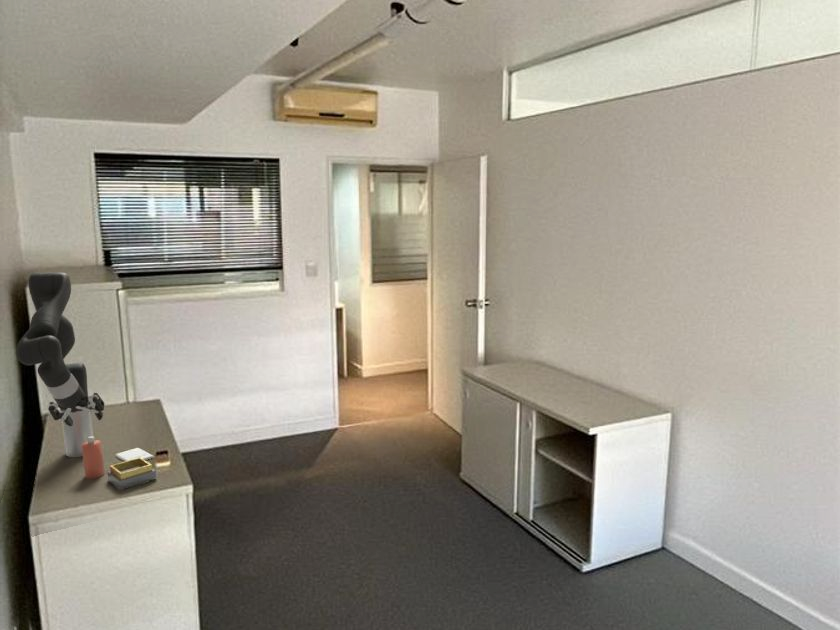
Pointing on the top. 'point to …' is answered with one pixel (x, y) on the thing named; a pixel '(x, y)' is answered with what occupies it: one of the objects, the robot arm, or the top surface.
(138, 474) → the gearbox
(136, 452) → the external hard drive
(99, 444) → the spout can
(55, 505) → the top surface
